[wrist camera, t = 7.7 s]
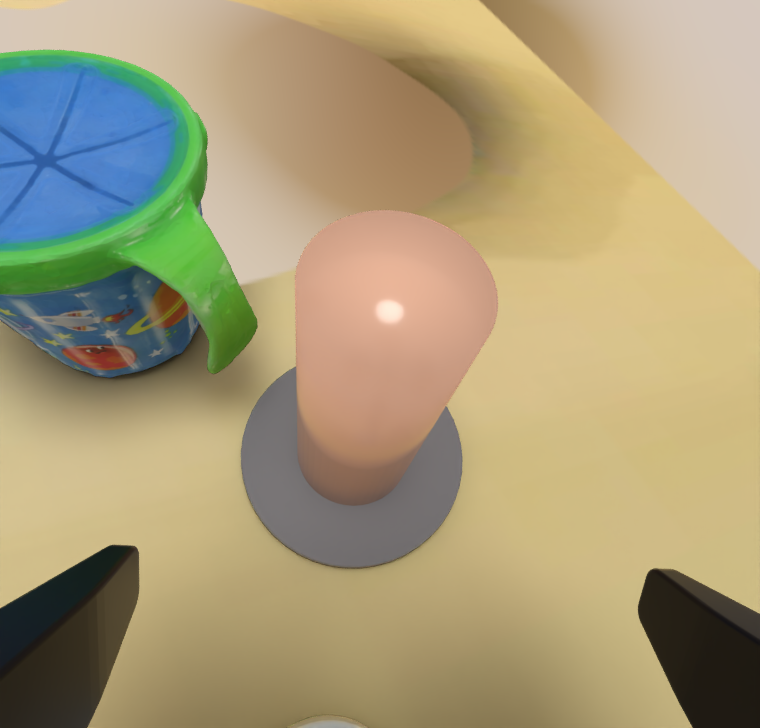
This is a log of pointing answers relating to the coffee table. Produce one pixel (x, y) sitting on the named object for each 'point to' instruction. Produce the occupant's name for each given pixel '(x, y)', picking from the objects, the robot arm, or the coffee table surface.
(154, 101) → the snack cup
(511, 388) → the coffee table surface
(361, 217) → the pink rounded cylinder
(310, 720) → the white dome
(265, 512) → the coaster
